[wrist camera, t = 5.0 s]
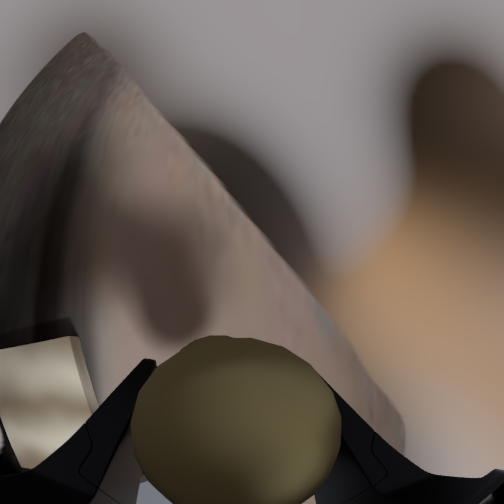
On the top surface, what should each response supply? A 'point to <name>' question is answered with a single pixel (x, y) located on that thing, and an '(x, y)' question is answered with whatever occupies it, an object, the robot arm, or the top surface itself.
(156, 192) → the top surface
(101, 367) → the top surface
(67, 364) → the maple slab
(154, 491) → the blue grey block
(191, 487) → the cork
